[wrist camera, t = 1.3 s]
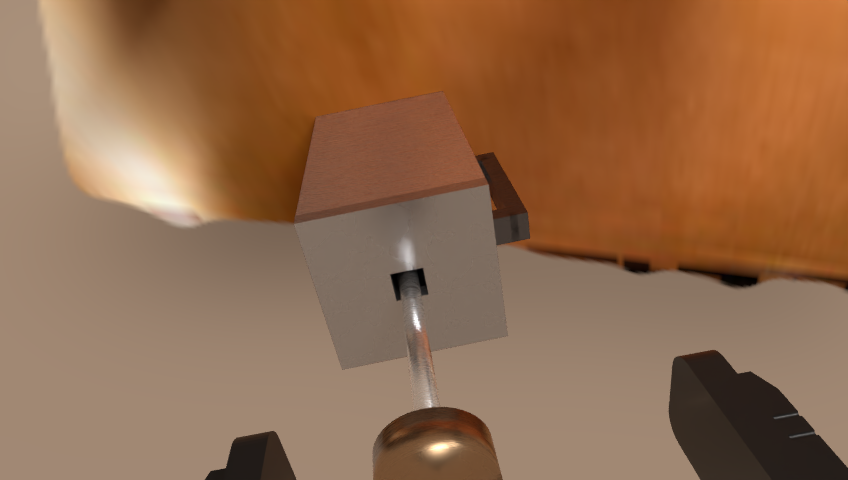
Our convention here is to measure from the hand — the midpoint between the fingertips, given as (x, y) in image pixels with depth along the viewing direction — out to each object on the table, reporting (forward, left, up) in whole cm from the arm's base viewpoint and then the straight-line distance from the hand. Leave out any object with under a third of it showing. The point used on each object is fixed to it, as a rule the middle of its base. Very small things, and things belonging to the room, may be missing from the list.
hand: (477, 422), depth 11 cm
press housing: (0, +10, -40) cm, 41 cm away
